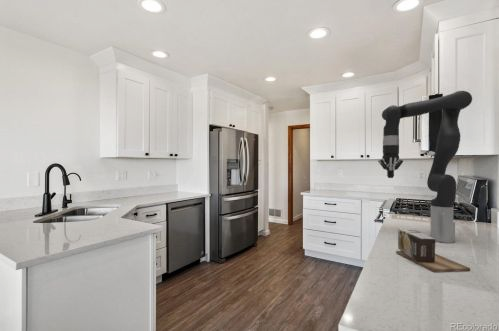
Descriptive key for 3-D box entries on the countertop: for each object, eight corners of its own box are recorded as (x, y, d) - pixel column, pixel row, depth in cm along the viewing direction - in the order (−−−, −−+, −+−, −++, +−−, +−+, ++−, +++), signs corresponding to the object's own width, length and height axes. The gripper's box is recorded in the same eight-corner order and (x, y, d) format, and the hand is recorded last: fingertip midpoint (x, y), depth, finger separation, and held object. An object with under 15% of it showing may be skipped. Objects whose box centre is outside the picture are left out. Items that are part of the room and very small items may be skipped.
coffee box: (397, 228, 114) (417, 237, 98) (413, 228, 114) (435, 238, 98) (397, 249, 114) (417, 262, 98) (413, 249, 114) (435, 263, 98)
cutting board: (426, 252, 113) (426, 250, 113) (470, 271, 93) (470, 268, 93) (396, 253, 111) (396, 251, 111) (434, 272, 92) (434, 269, 92)
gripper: (383, 144, 133) (383, 178, 133) (407, 144, 134) (407, 178, 134) (374, 145, 140) (374, 177, 140) (397, 145, 142) (397, 177, 142)
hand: (390, 177), depth 137 cm, fingers closed
